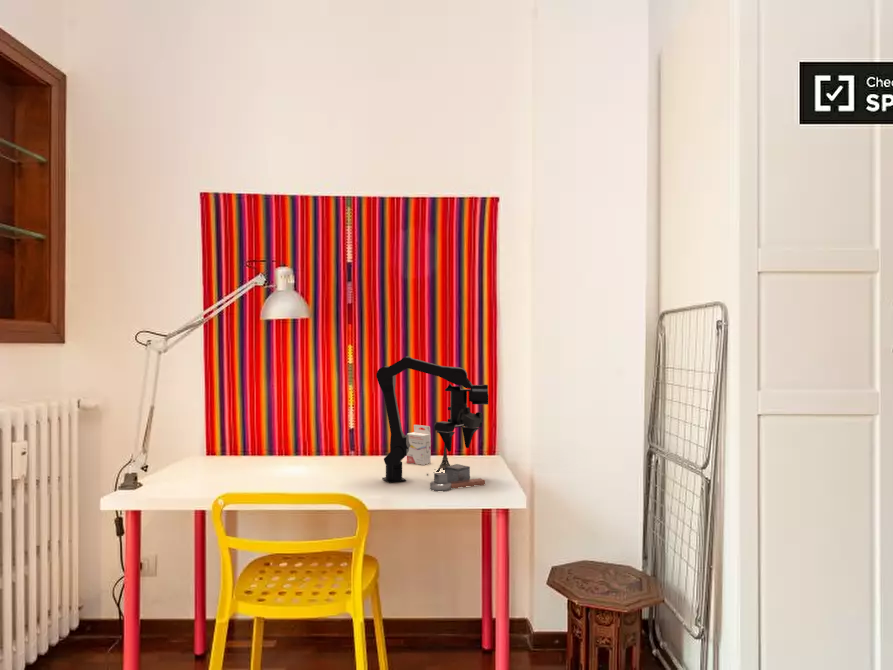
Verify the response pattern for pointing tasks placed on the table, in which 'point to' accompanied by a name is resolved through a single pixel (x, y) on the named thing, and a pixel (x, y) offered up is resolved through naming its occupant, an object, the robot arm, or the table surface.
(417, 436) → the ink cartridge box
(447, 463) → the eiffel tower figurine
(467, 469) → the socket
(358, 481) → the table surface
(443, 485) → the hammer
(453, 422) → the robot arm
